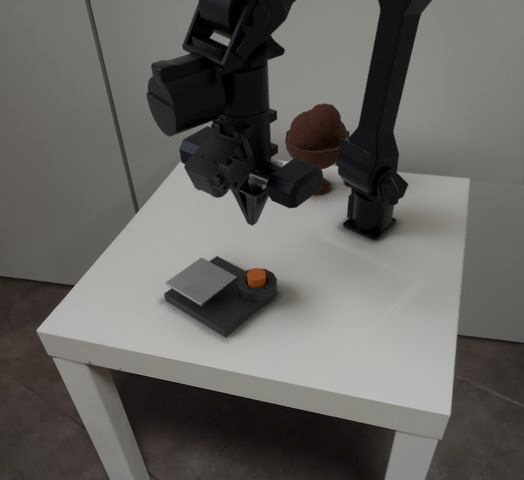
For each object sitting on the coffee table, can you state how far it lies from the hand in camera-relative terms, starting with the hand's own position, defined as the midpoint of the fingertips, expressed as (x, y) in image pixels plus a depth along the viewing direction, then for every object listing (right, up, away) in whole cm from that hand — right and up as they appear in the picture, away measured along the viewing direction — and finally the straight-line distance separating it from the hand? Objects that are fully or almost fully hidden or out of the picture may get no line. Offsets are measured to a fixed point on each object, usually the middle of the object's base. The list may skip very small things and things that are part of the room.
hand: (252, 223), depth 72 cm
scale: (-5, -9, +6) cm, 12 cm away
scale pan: (-7, -7, +4) cm, 11 cm away
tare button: (+1, -7, +4) cm, 9 cm away
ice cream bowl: (+11, +12, +26) cm, 30 cm away
